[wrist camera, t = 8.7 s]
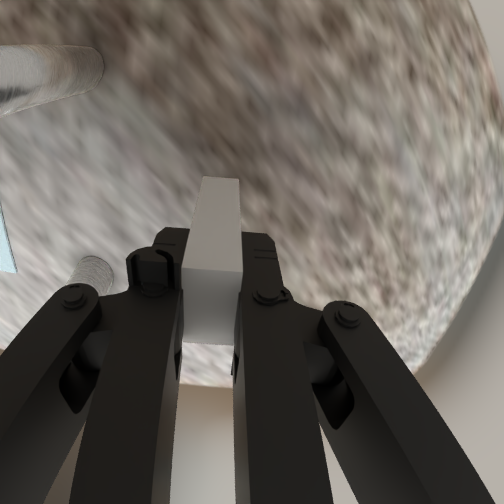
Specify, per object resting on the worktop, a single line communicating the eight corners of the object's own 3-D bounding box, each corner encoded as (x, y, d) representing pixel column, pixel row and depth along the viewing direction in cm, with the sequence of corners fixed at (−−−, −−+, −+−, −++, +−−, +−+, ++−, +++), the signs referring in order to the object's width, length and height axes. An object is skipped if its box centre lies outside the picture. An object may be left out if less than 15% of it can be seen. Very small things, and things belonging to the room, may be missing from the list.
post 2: (75, 254, 18) (19, 346, 12) (111, 258, 19) (63, 356, 12) (81, 286, 20) (36, 378, 13) (115, 290, 20) (78, 388, 13)
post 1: (62, 49, 12) (-44, 57, 5) (105, 44, 12) (8, 38, 5) (60, 95, 13) (-43, 130, 6) (102, 92, 13) (7, 120, 7)
